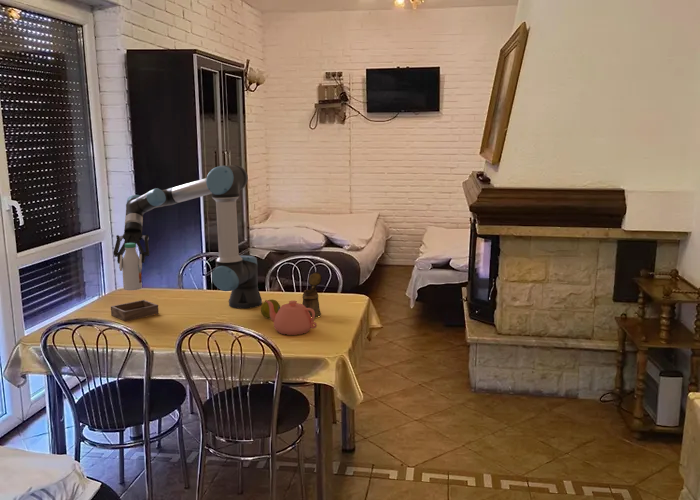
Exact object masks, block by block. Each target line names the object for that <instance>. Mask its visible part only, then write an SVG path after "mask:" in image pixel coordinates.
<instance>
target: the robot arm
mask: <svg viewBox="0 0 700 500" xmlns="http://www.w3.org/2000/svg"><path fill="white" fill-rule="evenodd" d="M248 179H249V175H248V173H247V171H246V169H245V168H243V166H241V165H239V164H238V165H237V164H231V165H229V164H228V165H218V166H216V167H213V168H212V169H211V170H210V171H209V172H208V174H207V175H206V177H205V178H202V179H197V180H194V181H191V182H186V183H184V184H180V185H177V186H174V187H173V186H172V187H169V188H166V189H160V188H158V187H157V188H156V187H155V188H153V189H150V190H149V191H147V192H146V193H144V194H142V195H139V194H133V195H132V194H131V195H129V196H128V197H127V200H126V204H125V218H124V232H123V234H122V235H119V234H117V235H116V236H115V237H116V241H115V245H114V250H113V256H114V258H116V257H117V264H118V265H119V266H118V268H119V271H120V272H121V271H122V261H123V258H124V254H125V251H126V249H125V244H126V243H136V247H138V250H139V251H140V254H139V258H140V259H139V269H140V270H141V271H142V270H143V264H145V262H146V261H145V260H146V257H149V256H150V247H149V240H150V237H149V234H145V235H144V234H143V222H144V220H143V219H144V214H145V213H147V212H150V211H152V210H153V209H156V208H157V209H158V208H162V207H167V206H173V205H176V204H179V203H182V202H186V201H190V200H193V199H198V198H201V197H204V196H208V195H211V198H212V199H213V200H214V201H215V209H216V224H217V226H216V227H217V246H218V257H217V258H215V267H214V269H213V270H212V273H211V280H212V282H213V285H214V286H215V287H216V288H217V289H218V290H220V291H223V292H230V291H231V293H230V296H229V299H228V306H229V307H230V308H232V309H240V310H241V309H244V310H245V309H255V308H257V307H261V306H262V305H261V304H263V301H262V296H261V293H260V290H259V288H258V287H259V286H258V284H259V283H258V281H259V280H258V278H259V277H258V260H257V259H258V258H257V257H255V256H254V255H240V254H239V253H240V252H239V233H238V216H237V215H238V214H237V213H238V212H237V211H238V209H237V200H238V199H239V198H240V191H242V189H244V188H245V187H246V185H247V184H248V181H249V180H248ZM141 240H144V245H145V246H144V247H145V251H144V249H143V246H142V244H141ZM122 241H123V243H122V245H121V242H122ZM120 246H121V247H120ZM122 272H123V271H122Z"/></svg>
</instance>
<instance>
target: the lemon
mask: <svg viewBox="0 0 700 500" xmlns="http://www.w3.org/2000/svg"><path fill="white" fill-rule="evenodd" d="M267 300H268V301H270V302H272V304H273V306H274V311H275V313H276V314H277V312H278V311H279V309H280V308H281V305H280V303H279V301H277V300H275V299H267ZM260 314H261V315H262V316H263V317H264V318H266V319H269V320H271V318H270V311H269V305H268V303H267V302H266V301H265V300H264V302H262V305H260Z"/></svg>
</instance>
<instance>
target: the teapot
mask: <svg viewBox="0 0 700 500" xmlns="http://www.w3.org/2000/svg"><path fill="white" fill-rule="evenodd" d="M268 300H269V299H264V302H265V301H266V302H267V303H268V305H269V311H270V318H271V319H270V320H271V321H272V322H273V328H274V329H275V331H276V332H277V333H279V334H281V335H285V334H287V335H288V336H297V334H299V335H304V334H306V333H308V332H309V331H310V330H311V329H316V328H317V326H318V325H317V322H315V319H316V318H315V312H314V310H313V309H311V308H306V307H305V306H304V305H303V304H302V303H299V302H297V300H289V301H288V303H284V304H282V305H280V309H279V311H278V312H277V314H276V313H275V311H274V306H273V304H272V302H270V301H268ZM308 310H309V311H311V312H312V318H311V315H310V313H309V312H308ZM303 333H304V334H303ZM287 335H286V336H287Z"/></svg>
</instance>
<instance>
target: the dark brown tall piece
mask: <svg viewBox="0 0 700 500" xmlns="http://www.w3.org/2000/svg"><path fill="white" fill-rule="evenodd" d="M322 280H323V276H322V274H321V273H320V272H318V271H315V272H313V273H311V274H310V275H309V277H308V284H309V285H310V288H309V289H305V290H303V293H302V303H301V304H303V305H304V306H305V307H306V308H311V309H313V310H314V312H315V317H318V316H320V315H321V316H322V313H321V312H322V311H321V309H320V301H319V293H318V290H317V286H319V285H320V284H321V283H322ZM308 312H309V313H310V315H311V317H312V312H311V311H309V310H308ZM321 316H320V317H321Z"/></svg>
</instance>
